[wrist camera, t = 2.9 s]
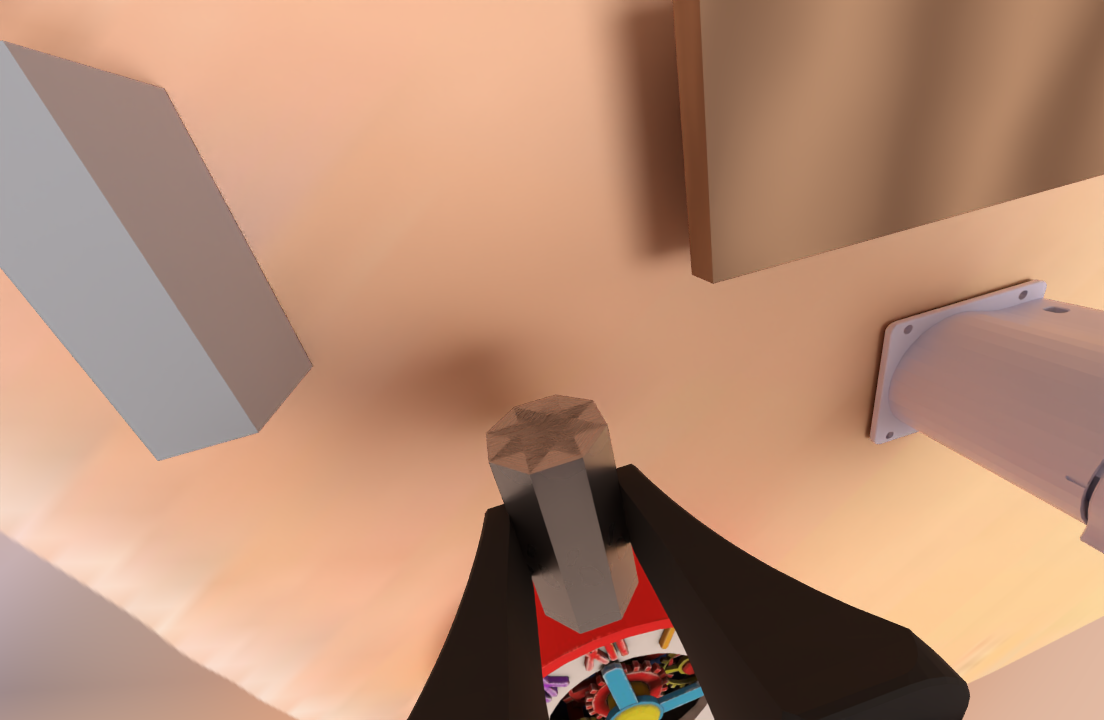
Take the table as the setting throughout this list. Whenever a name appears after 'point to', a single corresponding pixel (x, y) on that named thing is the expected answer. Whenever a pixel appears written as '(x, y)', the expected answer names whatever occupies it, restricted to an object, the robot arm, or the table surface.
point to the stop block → (136, 255)
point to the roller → (566, 508)
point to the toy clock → (620, 666)
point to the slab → (875, 117)
